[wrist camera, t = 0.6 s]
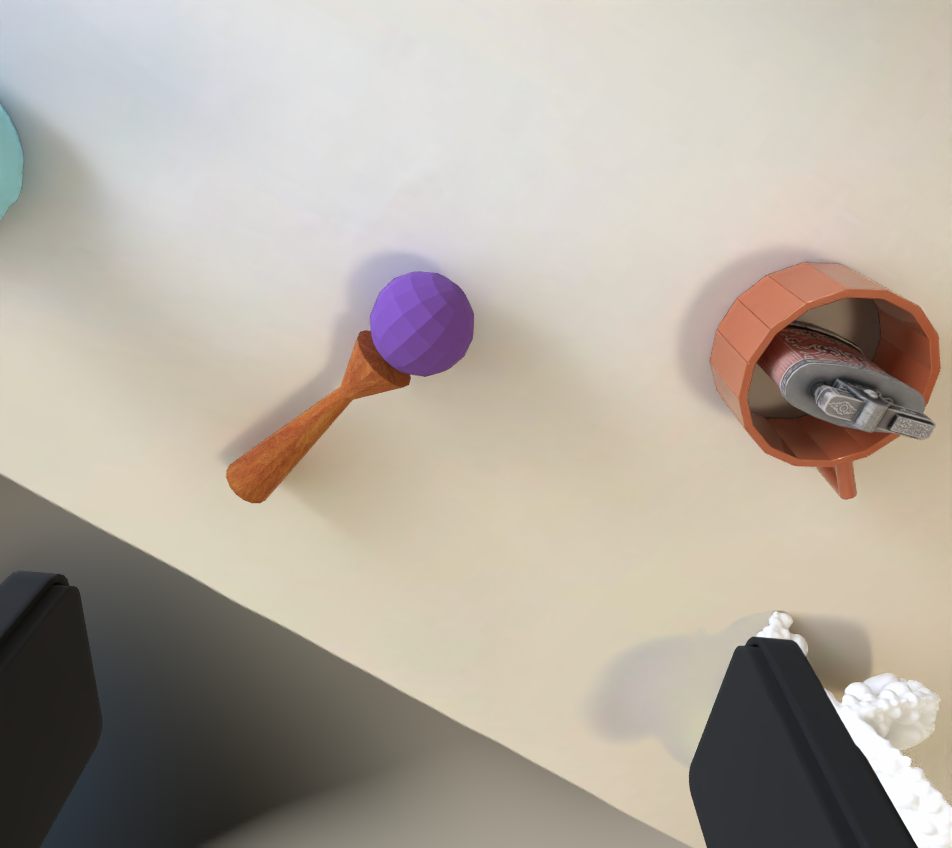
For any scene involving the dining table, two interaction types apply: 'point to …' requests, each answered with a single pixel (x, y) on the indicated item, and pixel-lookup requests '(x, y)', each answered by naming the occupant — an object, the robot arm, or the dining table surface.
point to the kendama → (369, 371)
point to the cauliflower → (890, 740)
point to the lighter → (842, 383)
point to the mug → (772, 309)
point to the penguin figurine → (9, 163)
